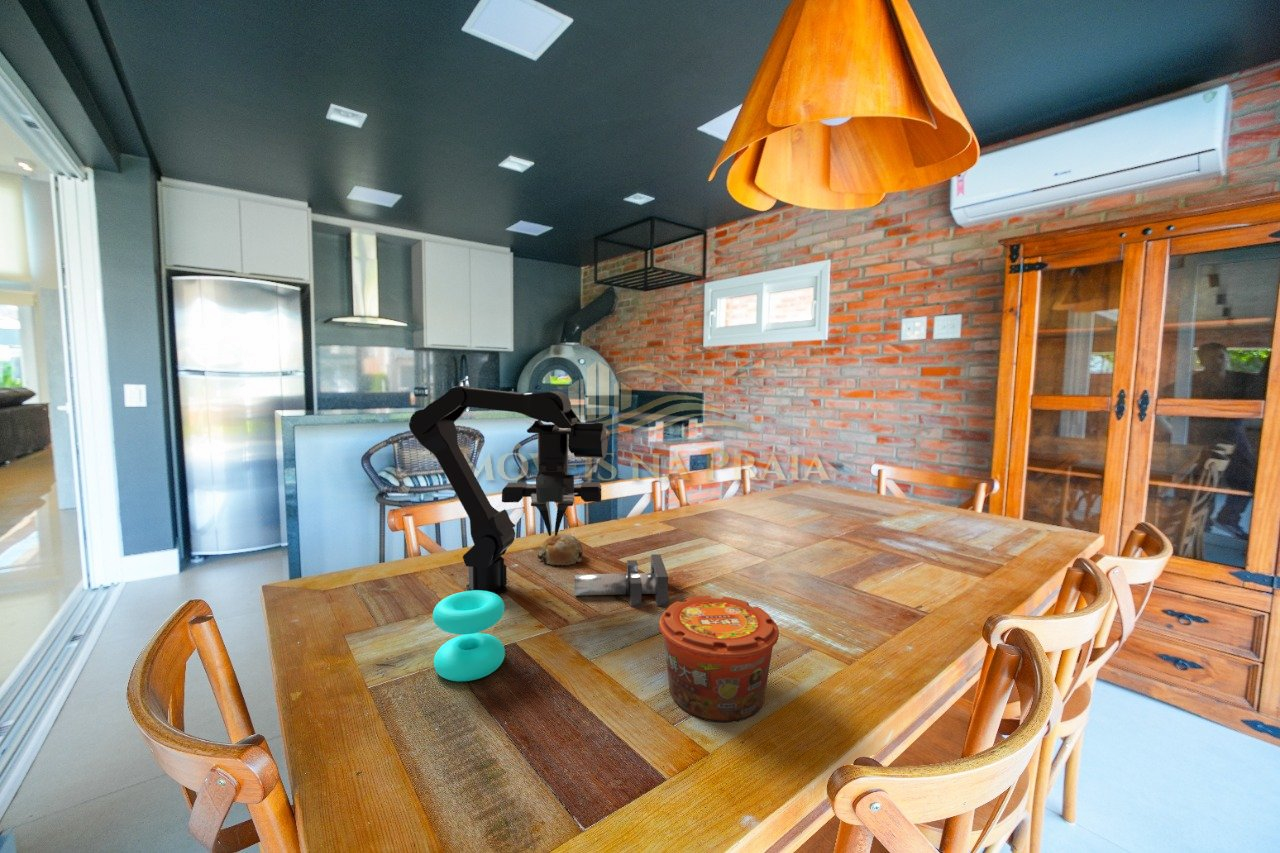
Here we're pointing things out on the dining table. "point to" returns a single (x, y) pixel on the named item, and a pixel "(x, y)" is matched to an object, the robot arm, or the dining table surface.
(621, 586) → the tube
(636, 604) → the cradle collar
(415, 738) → the dining table surface
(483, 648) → the donuts
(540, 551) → the bread roll
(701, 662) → the food container
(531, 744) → the dining table surface
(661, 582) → the gray bridge arch
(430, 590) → the dining table surface
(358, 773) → the dining table surface
